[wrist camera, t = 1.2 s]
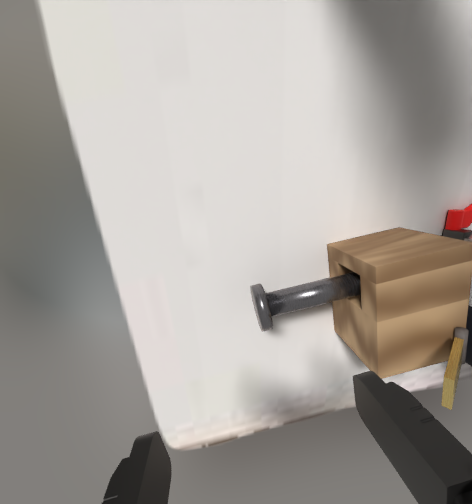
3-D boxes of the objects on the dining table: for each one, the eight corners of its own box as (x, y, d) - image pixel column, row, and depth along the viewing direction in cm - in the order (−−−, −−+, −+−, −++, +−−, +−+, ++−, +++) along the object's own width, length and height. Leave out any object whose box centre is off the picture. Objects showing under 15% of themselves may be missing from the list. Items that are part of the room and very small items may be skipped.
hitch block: (326, 244, 26) (383, 270, 18) (399, 227, 27) (487, 245, 18) (334, 330, 30) (385, 387, 21) (398, 314, 30) (472, 363, 22)
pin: (255, 315, 26) (265, 341, 21) (248, 279, 24) (256, 298, 20) (362, 288, 26) (393, 308, 22) (361, 252, 25) (393, 265, 21)
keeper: (443, 376, 17) (454, 380, 17) (454, 337, 21) (463, 339, 20) (441, 405, 18) (451, 409, 18) (452, 362, 22) (460, 365, 21)
